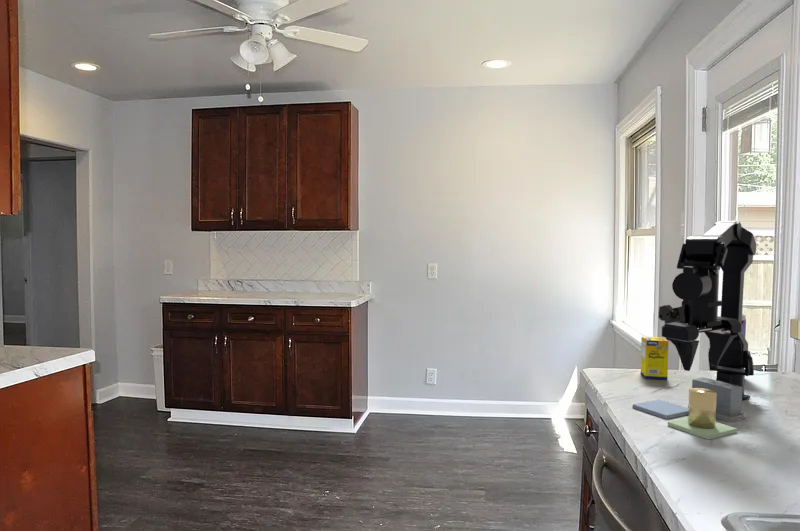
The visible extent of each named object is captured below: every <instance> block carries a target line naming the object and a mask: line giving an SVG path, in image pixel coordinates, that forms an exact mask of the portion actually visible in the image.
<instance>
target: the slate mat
mask: <svg viewBox="0 0 800 531" xmlns="http://www.w3.org/2000/svg"><path fill="white" fill-rule="evenodd" d="M632 408H633V409H635V410H638V411H641V412H644V413H647V414H650V415H654V416H657V417H659V418H662V419H666V420H668V419H673V418H677V417H678V418H679V417H681V416H688V406H686V407H685V406H683V405H679V404H676V403H673V402H669V401H668V400H667V401H666V400H663V399H660V398H658V399H654V400H648V401H643V402H637V403H633V404H632Z"/></svg>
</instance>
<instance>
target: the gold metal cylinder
mask: <svg viewBox="0 0 800 531" xmlns="http://www.w3.org/2000/svg"><path fill="white" fill-rule="evenodd" d="M716 397H717V392H715V391H713V390H709V389H703V388H692V387H691V388H689V389H688V405H689V407H688V406H687V408H688V415H687V418H688V424H689V425H691V426H694V427H698V428H704V429H713V428H715V427H716V422H717V418H716Z"/></svg>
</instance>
